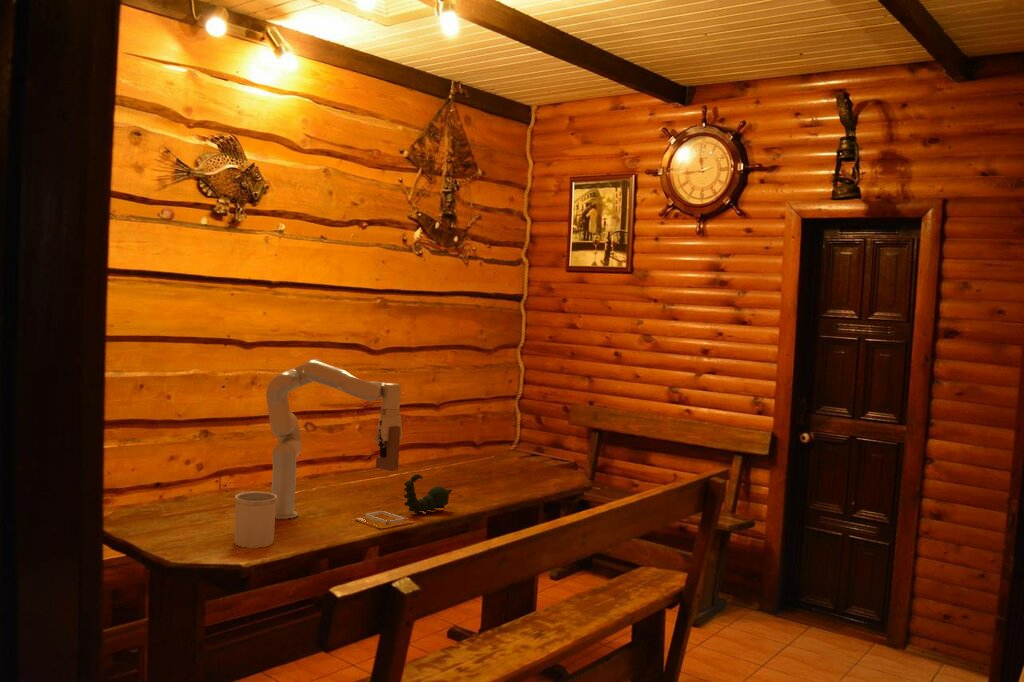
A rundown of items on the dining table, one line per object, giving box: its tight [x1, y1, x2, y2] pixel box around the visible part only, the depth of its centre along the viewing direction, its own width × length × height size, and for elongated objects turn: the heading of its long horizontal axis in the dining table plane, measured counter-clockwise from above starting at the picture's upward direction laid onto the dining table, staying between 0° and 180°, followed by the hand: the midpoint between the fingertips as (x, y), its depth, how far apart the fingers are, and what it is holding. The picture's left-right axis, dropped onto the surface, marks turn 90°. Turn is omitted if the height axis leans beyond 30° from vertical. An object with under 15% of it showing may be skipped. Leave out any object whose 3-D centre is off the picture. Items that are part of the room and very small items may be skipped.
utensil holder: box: [234, 490, 277, 549], centre depth 311 cm, size 15×15×18 cm
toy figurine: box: [403, 474, 453, 514], centre depth 373 cm, size 9×19×25 cm
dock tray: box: [355, 510, 407, 526], centre depth 353 cm, size 18×16×2 cm
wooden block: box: [375, 426, 401, 472], centre depth 352 cm, size 9×4×18 cm, turn 52°
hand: (387, 456), depth 352 cm, fingers closed on wooden block, 4 cm apart
